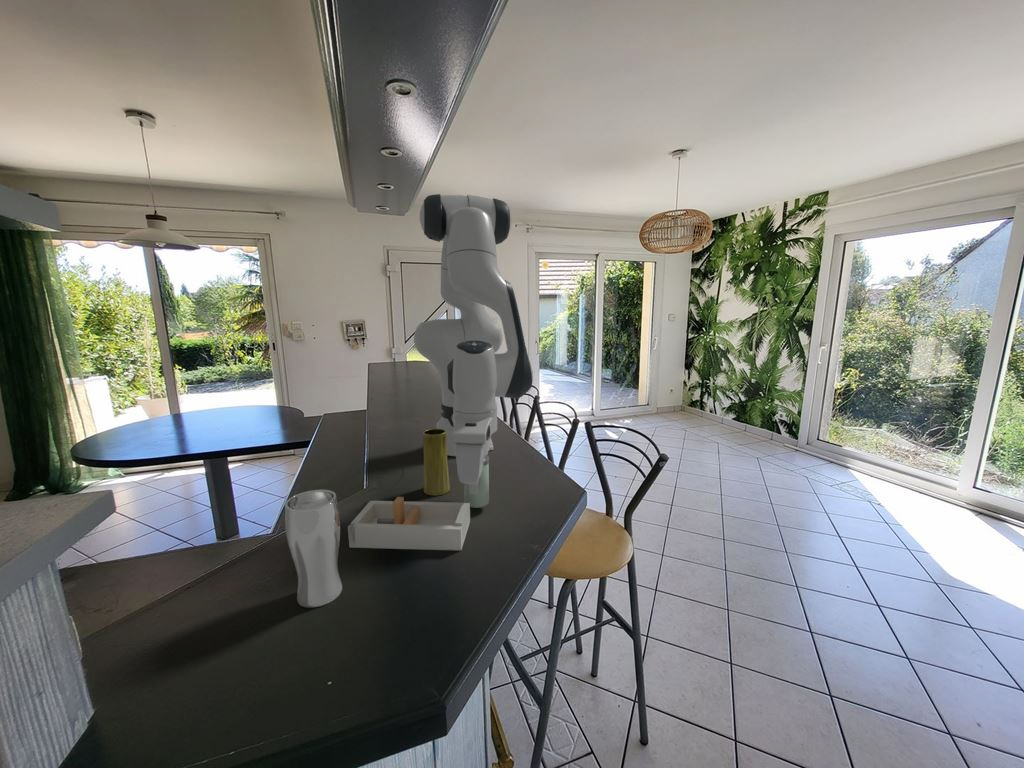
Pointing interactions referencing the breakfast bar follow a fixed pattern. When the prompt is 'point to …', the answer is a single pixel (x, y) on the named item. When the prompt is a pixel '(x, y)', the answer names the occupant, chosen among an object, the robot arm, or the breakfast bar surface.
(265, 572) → the breakfast bar surface
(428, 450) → the vase
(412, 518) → the pusher
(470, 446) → the robot arm
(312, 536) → the beer glass
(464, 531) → the white tray
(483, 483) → the jar
